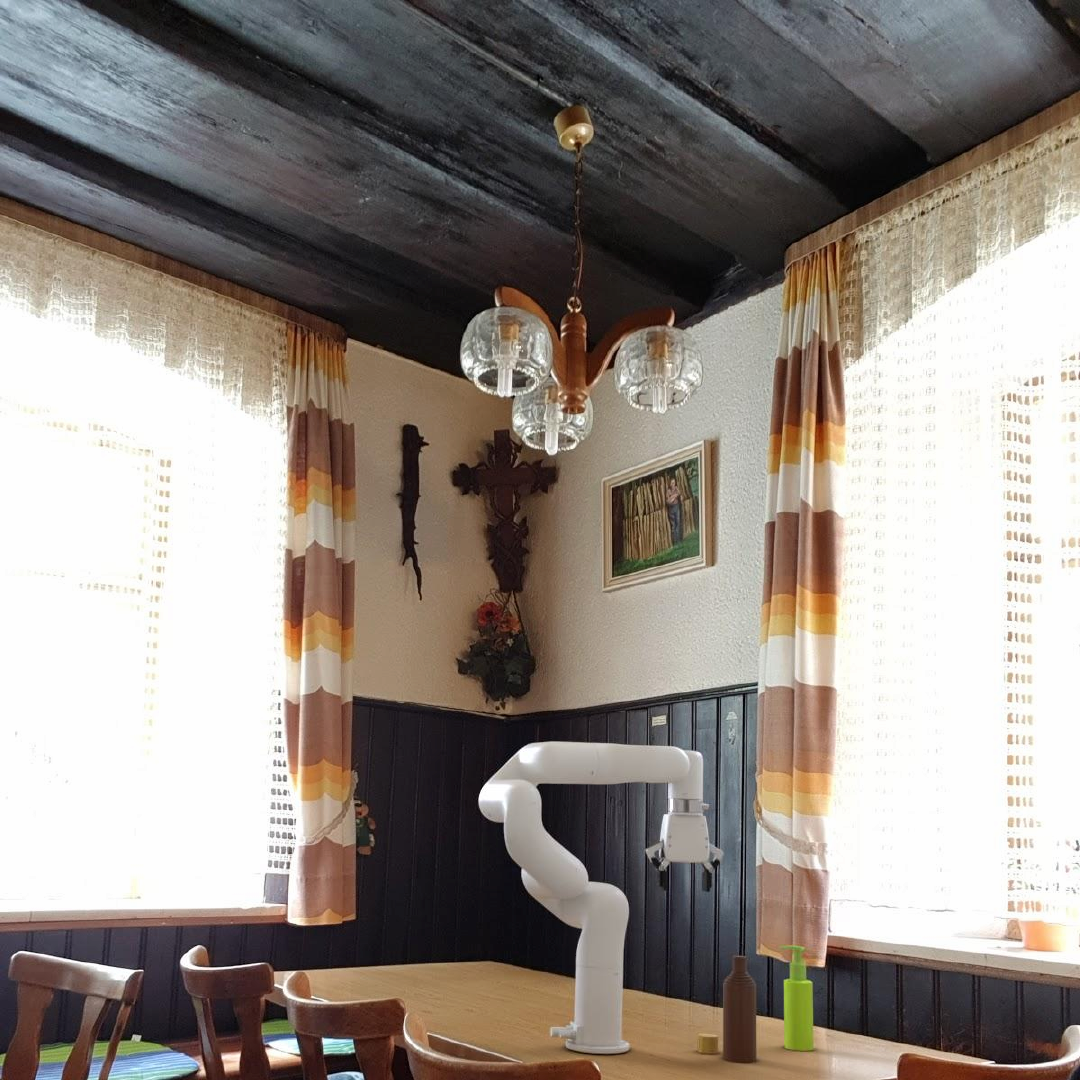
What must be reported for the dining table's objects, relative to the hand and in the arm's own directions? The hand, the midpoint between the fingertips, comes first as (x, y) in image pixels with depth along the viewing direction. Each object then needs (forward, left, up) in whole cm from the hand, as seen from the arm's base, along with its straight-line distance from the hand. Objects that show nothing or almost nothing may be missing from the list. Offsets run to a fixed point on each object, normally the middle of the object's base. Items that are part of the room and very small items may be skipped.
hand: (684, 890), depth 250 cm
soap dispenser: (+23, -5, -31) cm, 39 cm away
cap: (+2, -9, -30) cm, 32 cm away
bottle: (+6, -17, -30) cm, 35 cm away
